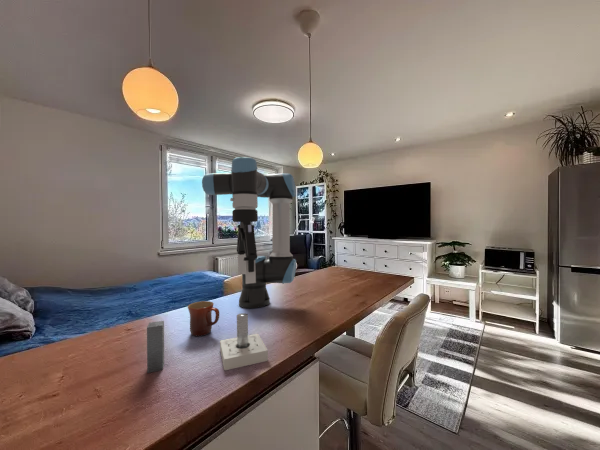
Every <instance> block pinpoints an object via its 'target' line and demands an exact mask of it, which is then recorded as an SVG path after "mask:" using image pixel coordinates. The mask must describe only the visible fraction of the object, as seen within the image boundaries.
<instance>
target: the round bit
mask: <svg viewBox="0 0 600 450" xmlns="http://www.w3.org/2000/svg"><path fill="white" fill-rule="evenodd" d="M248 335H249V315H248V313H246V312H245V313H244V312H243V313H238V314H237V315H236V338H237V348H238V349H243V348H247V347H248Z"/></svg>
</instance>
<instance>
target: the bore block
mask: <svg viewBox="0 0 600 450" xmlns="http://www.w3.org/2000/svg"><path fill="white" fill-rule="evenodd" d="M219 350H220V356H221V361H222V367H223V371H229V370H234V369H238V368H243V367H246V366H251V365H255V364H259V363H264V362H268V361H269V350H268V348H267V346H266V345H265V343H264V340H263V339H262V338H261V336H260V334H259V333H254V334H248V347H247V348H243V349H238V348H237V337H231V338H227V339H222V340H219Z"/></svg>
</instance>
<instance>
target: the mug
mask: <svg viewBox="0 0 600 450" xmlns="http://www.w3.org/2000/svg"><path fill="white" fill-rule="evenodd" d="M214 304H215V303H214V302H213V301H206V300H204V301H203V300H202V301H195V302H192V303H190V304H188V305H187V309H188V312H189V332H190V335H192V336H194V337H204V336H206V335H208V334H210V332H212V328H213V326H214V325H216V324H217V323H218V321H219V320H220V310H219V308H217V307H214ZM212 311H214V313H215V318H214V321H213V316H212Z"/></svg>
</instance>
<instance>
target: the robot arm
mask: <svg viewBox="0 0 600 450" xmlns="http://www.w3.org/2000/svg"><path fill="white" fill-rule="evenodd" d="M201 185H202V190H203V192H204V193H205V194H206V195H209V196H211V195H212V196H221V195H223V196H224V195H232V197H230V202H232V208H233V210H232V222H233V223H239V224H238V225H237V243H236V253H237V254H238V255H237V275H241V278H242V279H241V281H242V283H241V284H242V285H241V286H242V288H241V291H240V295H239V299H238V306H239V307H240V308H243V309H259V308H263V306H264V307H266V306H265V305H267V306H268V305H269V304H270V302H271V299H270V295H269V292H268V289H267V284H282V285H283V284H291V283H293V281H294V279H295V277H296V270H297V259H296V258H294V255H293V254H292V253H291V242H290V241H291V238H290V237H291V236H290V235H291V233H290V232H291V231H290V230H291V229H290V228H291V226H290V225H291V223H290V222H291V220H290V219H291V217H290V216H291V212H290V210H291V209H290V208H291V206H290V205H291V203H292V202H293V200H294V199H293V198H295V197H296V196H297V188H296V182H295V178H294V176H293V175H292V174H291V173H284V172H282V173H270V174H269V173H268V174H267V173H264V174H263V173H262V172H260V171H258V166H257V160H256V159H255V158H253V157H249V156H238V157H235V158H233V159H232V161H231V171H230V172H218V173H217V172H212V173H206V174H204V175H203V177H202V181H201ZM258 198H269V199H268V200H269V201H270V203H271V205H272V209H271V210H272V211H271V212H272V214H271V215H272V216H271V217H272V218H271V219H272V220H271V221H272V222H271V223H272V224H271V225H272V226H271V227H272V228H271V229H272V231H271V232H272V235H271V236H272V244H271V245H272V247H271V248H272V252H271V253H270V254H269V258H267V257H266V255H258V252H257V245H256V244H257V243H256V235H255V225H254V224H252V223H257V222H258V219H259V218H258V210H257V209H258V205H259V203H258ZM258 307H259V308H258Z"/></svg>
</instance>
